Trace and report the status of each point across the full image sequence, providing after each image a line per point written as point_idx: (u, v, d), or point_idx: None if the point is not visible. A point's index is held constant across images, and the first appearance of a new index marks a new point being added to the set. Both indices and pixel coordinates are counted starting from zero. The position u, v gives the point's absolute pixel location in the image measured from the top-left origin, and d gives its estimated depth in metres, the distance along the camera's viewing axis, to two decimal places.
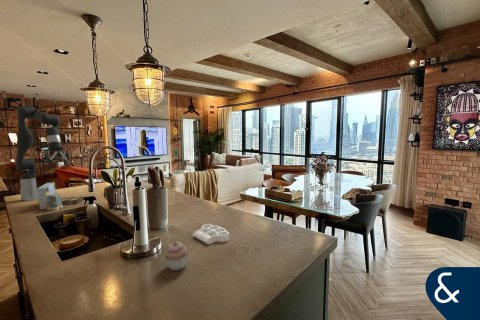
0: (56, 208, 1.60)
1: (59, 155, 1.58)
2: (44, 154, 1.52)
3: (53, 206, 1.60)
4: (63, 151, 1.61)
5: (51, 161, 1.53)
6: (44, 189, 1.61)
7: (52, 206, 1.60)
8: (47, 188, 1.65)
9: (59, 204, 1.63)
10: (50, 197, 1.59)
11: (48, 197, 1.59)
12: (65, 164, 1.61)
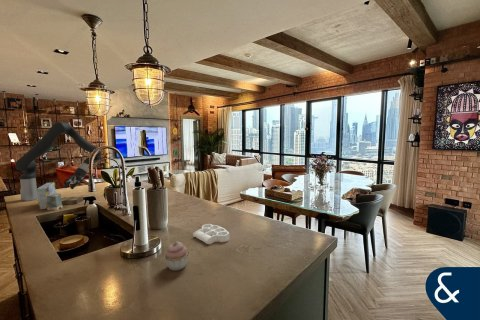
0: (56, 208, 1.60)
1: None
2: (80, 179, 1.71)
3: (53, 206, 1.60)
4: None
5: (75, 185, 1.70)
6: (44, 189, 1.61)
7: (52, 206, 1.60)
8: (47, 188, 1.65)
9: (59, 204, 1.63)
10: (50, 197, 1.59)
11: (48, 197, 1.59)
12: (65, 187, 1.72)
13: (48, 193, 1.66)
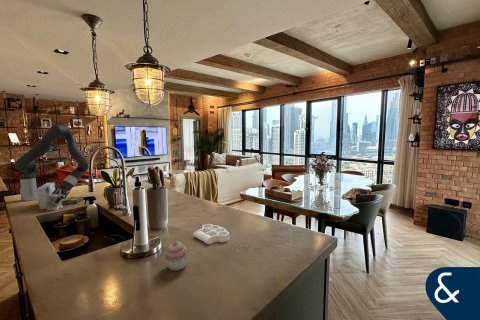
0: (56, 208, 1.60)
1: None
2: (65, 193, 1.62)
3: (53, 206, 1.60)
4: None
5: (60, 200, 1.61)
6: (44, 189, 1.61)
7: (52, 206, 1.60)
8: (47, 188, 1.65)
9: (59, 204, 1.63)
10: (50, 197, 1.59)
11: (48, 197, 1.59)
12: None
13: (48, 193, 1.66)
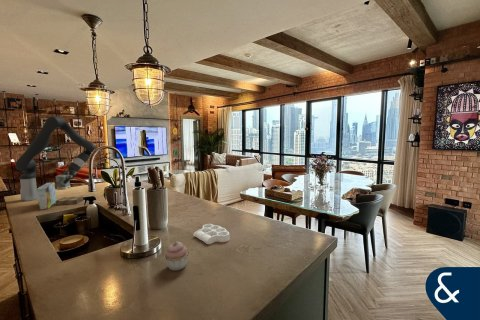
0: (64, 188, 1.69)
1: None
2: (73, 173, 1.71)
3: (62, 186, 1.68)
4: None
5: (68, 180, 1.70)
6: (44, 189, 1.61)
7: (61, 186, 1.68)
8: (47, 188, 1.65)
9: (67, 184, 1.72)
10: (59, 177, 1.68)
11: (57, 177, 1.67)
12: None
13: (48, 193, 1.66)
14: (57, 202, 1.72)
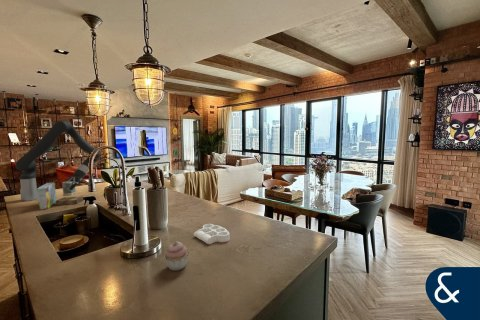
0: (71, 194, 1.74)
1: None
2: (79, 180, 1.76)
3: (68, 192, 1.74)
4: None
5: (74, 186, 1.76)
6: (44, 189, 1.61)
7: (67, 192, 1.74)
8: (47, 188, 1.65)
9: (73, 190, 1.77)
10: (65, 184, 1.73)
11: (63, 184, 1.73)
12: None
13: (48, 193, 1.66)
14: (57, 202, 1.72)
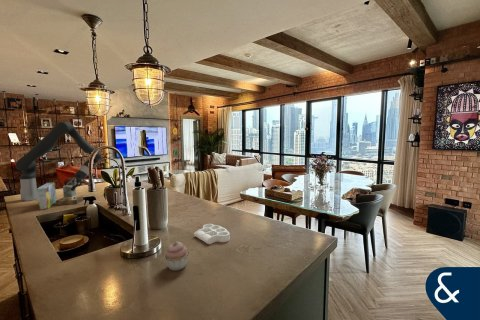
0: (71, 198, 1.75)
1: None
2: (80, 181, 1.77)
3: (68, 195, 1.75)
4: None
5: (75, 187, 1.76)
6: (44, 189, 1.61)
7: (67, 196, 1.74)
8: (47, 188, 1.65)
9: (74, 194, 1.78)
10: (66, 187, 1.74)
11: (64, 187, 1.74)
12: None
13: (48, 193, 1.66)
14: (57, 202, 1.72)
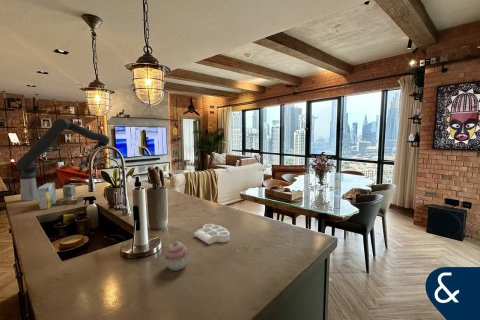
0: (71, 198, 1.75)
1: None
2: (93, 165, 1.88)
3: (68, 196, 1.75)
4: None
5: None
6: (44, 189, 1.61)
7: (67, 196, 1.74)
8: (47, 188, 1.65)
9: (73, 194, 1.78)
10: (66, 187, 1.74)
11: (64, 187, 1.73)
12: (79, 172, 1.90)
13: (48, 193, 1.66)
14: (57, 202, 1.72)
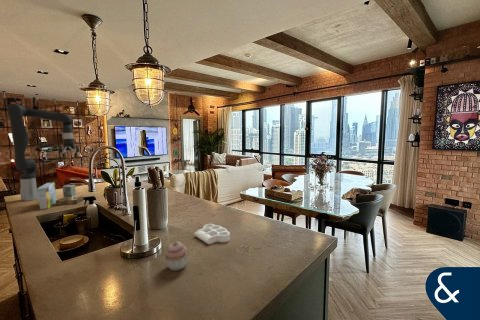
0: (71, 198, 1.75)
1: None
2: (77, 147, 1.97)
3: (68, 196, 1.75)
4: None
5: None
6: (44, 189, 1.61)
7: (67, 196, 1.74)
8: (47, 188, 1.65)
9: (73, 194, 1.78)
10: (66, 187, 1.74)
11: (64, 187, 1.73)
12: (65, 156, 1.97)
13: (48, 193, 1.66)
14: (57, 202, 1.72)
